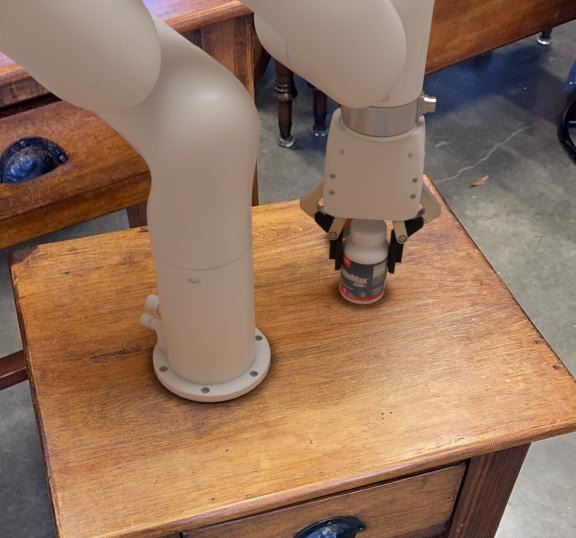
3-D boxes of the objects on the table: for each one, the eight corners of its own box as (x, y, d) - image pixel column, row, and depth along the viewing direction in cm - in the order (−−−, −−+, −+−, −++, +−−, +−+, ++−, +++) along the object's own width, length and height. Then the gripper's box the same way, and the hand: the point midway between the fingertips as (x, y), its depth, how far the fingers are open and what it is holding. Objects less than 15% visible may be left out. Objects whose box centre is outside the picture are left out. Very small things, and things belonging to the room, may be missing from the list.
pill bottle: (329, 291, 97) (333, 225, 89) (358, 270, 99) (364, 204, 92) (364, 312, 94) (371, 245, 87) (393, 290, 97) (402, 224, 90)
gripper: (468, 91, 81) (439, 248, 96) (293, 83, 82) (291, 240, 96) (472, 132, 77) (441, 290, 91) (287, 123, 77) (286, 281, 92)
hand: (364, 263), depth 94 cm, fingers closed on pill bottle, 5 cm apart
